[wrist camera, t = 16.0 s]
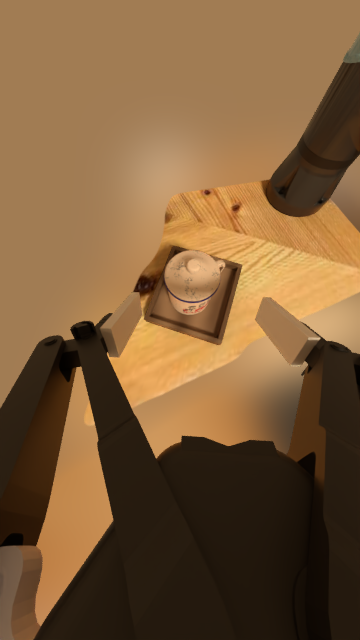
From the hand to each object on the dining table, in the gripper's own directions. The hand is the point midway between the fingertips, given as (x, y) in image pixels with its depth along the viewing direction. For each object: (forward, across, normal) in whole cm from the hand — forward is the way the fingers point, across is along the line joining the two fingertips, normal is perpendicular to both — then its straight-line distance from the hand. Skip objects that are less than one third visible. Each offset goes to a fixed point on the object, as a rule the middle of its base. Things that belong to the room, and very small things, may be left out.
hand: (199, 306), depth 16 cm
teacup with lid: (+16, +1, -5) cm, 16 cm away
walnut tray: (+16, 0, -5) cm, 17 cm away
